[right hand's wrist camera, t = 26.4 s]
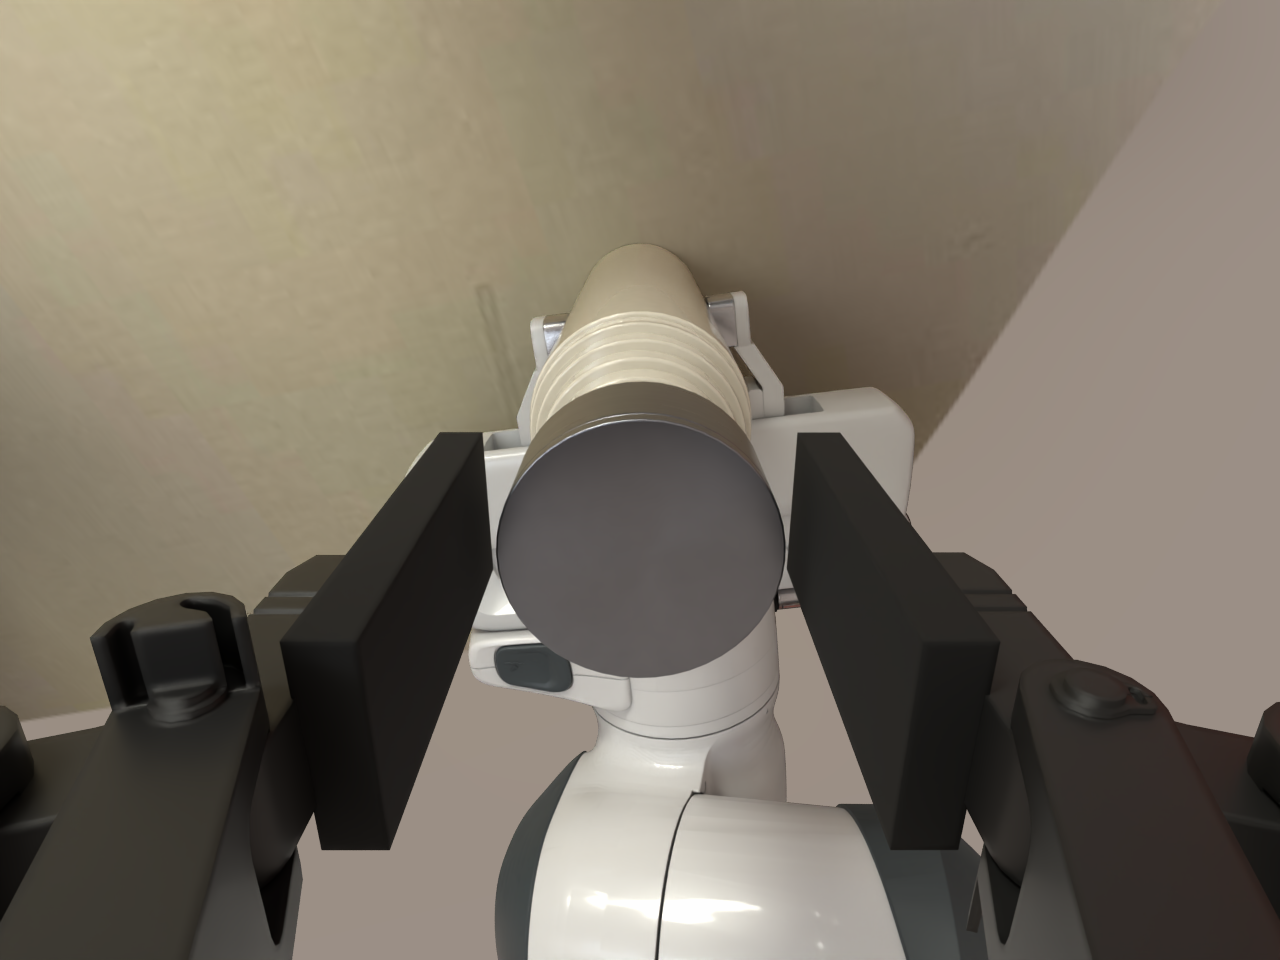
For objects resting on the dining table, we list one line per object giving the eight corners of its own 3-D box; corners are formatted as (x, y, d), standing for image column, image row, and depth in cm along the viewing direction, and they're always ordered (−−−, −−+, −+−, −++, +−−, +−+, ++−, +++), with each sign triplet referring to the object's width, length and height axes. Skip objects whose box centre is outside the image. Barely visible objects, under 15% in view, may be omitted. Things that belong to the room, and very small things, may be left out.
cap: (537, 619, 15) (521, 690, 13) (496, 394, 13) (470, 436, 11) (770, 597, 15) (791, 665, 13) (758, 367, 13) (780, 404, 11)
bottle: (615, 380, 37) (575, 712, 14) (561, 277, 35) (417, 468, 12) (717, 330, 36) (849, 597, 13) (667, 221, 34) (720, 318, 12)
